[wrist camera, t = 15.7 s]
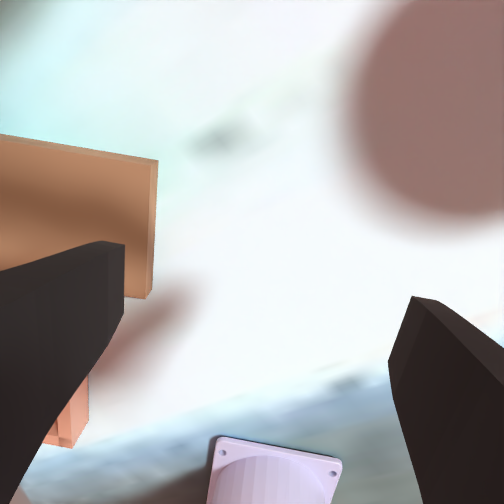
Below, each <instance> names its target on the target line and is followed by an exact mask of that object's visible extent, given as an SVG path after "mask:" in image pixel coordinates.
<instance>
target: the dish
mask: <svg viewBox="0 0 504 504" xmlns="http://www.w3.org/2000/svg"><path fill="white" fill-rule="evenodd" d="M88 421H89V407H88V375H87V376H86V378H85V379H84V380H83V382H82V383H81V385H80V386H79V388H78V389H77V390H76V392H75V393H74V395H73V396H72V398H71V399H70V400H69V402H68V403H67V405H66V406H65V408H64V409H63V410H62V412H61V413H60V415H59V416H58V418H57V419H56V421H55V422H54V424H53V426H52V427H51V429H50V430H49V432H48V433H47V435H46V437H45V438H44V440H43V442H42V443H45V444H51V445H56V446H61V447H66V448H71V449H72V448H73V446H74V445H75V443H76V441H77V440H78V438H79V436H80V434H81V433H82V431H83V429H84V428H85V426H86V424H87V422H88Z"/></svg>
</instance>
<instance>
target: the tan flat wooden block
mask: <svg viewBox="0 0 504 504" xmlns="http://www.w3.org/2000/svg"><path fill="white" fill-rule="evenodd" d="M157 178H158V160H153V159H147V158H141V157H135V156H129V155H123V154H117V153H111V152H105V151H99V150H93V149H88V148H82V147H76V146H70V145H64V144H58V143H52V142H46V141H40V140H34V139H28V138H23V137H17V136H11V135H5V134H0V271H2V270H6V269H9V268H12V267H16V266H19V265H22V264H26V263H29V262H32V261H35V260H38V259H41V258H44V257H47V256H50V255H53V254H56V253H60V252H63V251H66V250H69V249H72V248H75V247H78V246H81V245H84V244H88V243H91V242H96V241H101V240H102V241H108V242H113V243H119V244H124V245H125V278H124V296H129V297H135V298H140V299H146V298H147V296H148V295H149V293H150V291H151V290H152V280H153V260H154V240H155V219H156V199H157Z"/></svg>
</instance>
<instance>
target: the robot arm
mask: <svg viewBox="0 0 504 504" xmlns="http://www.w3.org/2000/svg"><path fill="white" fill-rule="evenodd" d="M124 278H125V245H124V244H119V243H113V242H108V241H102V240H101V241H96V242H91V243H88V244H84V245H81V246H78V247H75V248H72V249H69V250H66V251H63V252H60V253H56V254H53V255H50V256H47V257H44V258H41V259H38V260H35V261H32V262H29V263H26V264H22V265H19V266H16V267H12V268H9V269H6V270H2V271H0V504H9V503H10V501H11V499H12V497H13V495H14V493H15V491H16V490H17V488H18V486H19V484H20V482H21V480H22V478H23V476H24V474H25V473H26V471H27V469H28V467H29V465H30V464H31V462H32V460H33V458H34V456H35V455H36V453H37V451H38V449H39V447H40V446H41V444H42V442H43V440H44V438H45V437H46V435H47V433H48V432H49V430H50V429H51V427H52V426H53V424H54V422H55V421H56V419H57V418H58V416H59V415H60V413H61V412H62V410H63V409H64V408H65V406H66V405H67V403H68V402H69V400H70V399H71V398H72V396H73V395H74V393H75V392H76V390H77V389H78V388H79V386H80V385H81V383H82V382H83V380H84V379H85V378H86V376H87V375H88V373H89V372H90V371H91V369H92V368H93V366H94V365H95V363H96V362H97V360H98V359H99V357H100V356H101V355H102V353H103V352H104V350H105V349H106V347H107V346H108V344H109V342H110V340H111V338H112V336H113V334H114V332H115V330H116V328H117V326H118V324H119V322H120V320H121V318H122V316H123V314H124ZM388 368H389V376H390V383H391V389H392V396H393V400H394V404H395V407H396V411H397V414H398V418H399V421H400V425H401V428H402V432H403V435H404V438H405V442H406V445H407V448H408V452H409V455H410V458H411V462H412V465H413V468H414V472H415V475H416V478H417V482H418V485H419V489H420V493H421V497H422V501H423V504H504V348H503V347H502V346H500V345H499V344H498V343H496V342H495V341H494V340H492V339H491V338H489V337H488V336H487V335H486V334H484V333H483V332H482V331H480V330H479V329H478V328H476V327H475V326H474V325H472V324H471V323H470V322H468V321H467V320H465V319H464V318H463V317H461V316H460V315H459V314H457V313H456V312H454V311H453V310H452V309H450V308H449V307H447V306H446V305H444V304H442V303H440V302H439V301H437V300H432V299H426V298H420V297H415V296H412V297H411V299H410V302H409V305H408V308H407V310H406V313H405V316H404V319H403V321H402V324H401V327H400V329H399V332H398V335H397V338H396V340H395V343H394V346H393V349H392V351H391V354H390V357H389V360H388ZM341 472H342V462H341V460H339V459H337V458H333V457H328V456H323V455H317V454H312V453H307V452H302V451H296V450H291V449H286V448H281V447H275V446H270V445H265V444H260V443H254V442H249V441H244V440H239V439H233V438H228V437H220V438H218V439H217V441H216V445H215V452H214V458H213V464H212V471H211V477H210V483H209V490H208V496H207V502H206V504H330V503H331V500H332V497H333V494H334V491H335V489H336V486H337V483H338V480H339V477H340V475H341Z"/></svg>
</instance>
